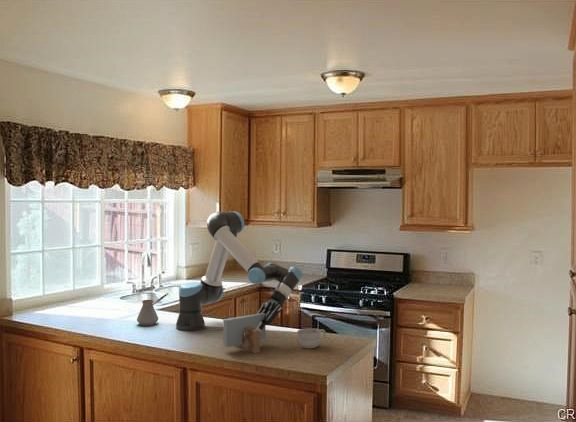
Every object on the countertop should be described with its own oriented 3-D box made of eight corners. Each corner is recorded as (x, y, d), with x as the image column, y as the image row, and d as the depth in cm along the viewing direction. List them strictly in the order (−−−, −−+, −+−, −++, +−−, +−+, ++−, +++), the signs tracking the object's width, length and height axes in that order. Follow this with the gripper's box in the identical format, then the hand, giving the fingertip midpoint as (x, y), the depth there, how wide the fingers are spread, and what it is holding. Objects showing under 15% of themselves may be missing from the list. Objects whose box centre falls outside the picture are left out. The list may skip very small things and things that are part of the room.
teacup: (300, 350, 251) (300, 333, 250) (294, 344, 261) (295, 327, 261) (329, 349, 254) (330, 331, 254) (322, 342, 264) (323, 326, 264)
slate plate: (223, 345, 249) (223, 319, 248) (262, 337, 263) (262, 312, 262) (226, 347, 247) (226, 320, 246) (265, 338, 261) (265, 313, 260)
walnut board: (230, 343, 262) (230, 322, 262) (234, 342, 263) (234, 322, 263) (255, 353, 246) (255, 331, 246) (259, 352, 248) (259, 330, 248)
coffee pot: (146, 327, 292) (146, 299, 291) (132, 324, 298) (132, 297, 298) (176, 320, 310) (176, 293, 309) (161, 317, 316) (161, 291, 316)
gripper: (295, 301, 263) (267, 341, 253) (275, 296, 275) (247, 335, 265) (286, 291, 260) (258, 332, 250) (266, 287, 272) (238, 325, 262)
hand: (252, 333), depth 258 cm, fingers closed on slate plate, 2 cm apart
